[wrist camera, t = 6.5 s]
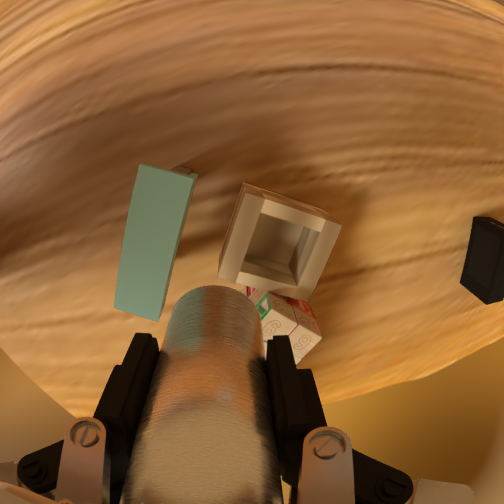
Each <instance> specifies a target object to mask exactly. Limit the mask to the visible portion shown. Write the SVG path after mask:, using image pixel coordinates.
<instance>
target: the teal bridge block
mask: <svg viewBox="0 0 504 504" xmlns="http://www.w3.org/2000/svg"><path fill="white" fill-rule="evenodd" d="M197 177H198V174H196V173H192V169H189V168H185V167H181V166H177V167H175V168H173V169H171V170H168V169H165V168H161V167H157V166H153V165H150V164H146V163H142V164H139V168H138V172H137V176H136V180H135V184H134V188H133V193H132V197H131V202H130V207H129V212H128V216H127V222H126V227H125V232H124V238H123V244H122V250H121V256H120V263H119V269H118V277H117V284H116V293H115V302H114V308H116V309H119V310H122V311H125V312H128V313H131V314H134V315H137V316H140V317H144V318H147V319H150V320H154V321H157V322H158V321H159V318H160V316H161V313H162V310H163V307H164V304H165V300H166V295H167V291H168V287H169V282H170V278H171V274H172V270H173V265H174V261H175V257H176V253H177V249H178V245H179V242H180V238H181V234H182V230H183V226H184V223H185V219H186V215H187V212H188V208H189V205H190V201H191V198H192V194H193V191H194V187H195V184H196V181H197Z"/></svg>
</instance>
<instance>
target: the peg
mask: <svg viewBox="0 0 504 504" xmlns="http://www.w3.org/2000/svg"><path fill="white" fill-rule="evenodd" d="M120 504H284V502H283V494H282V485H281V477H280V469H279V460H278V452H277V446H276V438H275V430H274V421H273V413H272V405H271V397H270V389H269V381H268V373H267V365H266V356H265V347H264V339H263V331H262V323H261V317H260V314H259V311H258V309H257V307H256V306H255V304H254V303H253V302H252V301H251V300H250V299H249V298H248V297H247V296H245V295H244V294H242V293H241V292H239V291H237V290H234V289H232V288H229V287H224V286H215V285H212V286H203V287H199V288H196V289H194V290H191V291H189V292H188V293H186V294H185V295H184V296H182V297H181V298H180V299H179V301H178V302H177V303H176V305H175V307H174V309H173V312H172V315H171V318H170V321H169V324H168V327H167V330H166V333H165V336H164V339H163V343H162V346H161V349H160V352H159V355H158V359H157V362H156V365H155V368H154V372H153V375H152V378H151V382H150V385H149V389H148V392H147V396H146V399H145V403H144V406H143V410H142V414H141V417H140V421H139V425H138V428H137V432H136V436H135V440H134V444H133V448H132V452H131V456H130V460H129V464H128V468H127V473H126V477H125V481H124V486H123V490H122V495H121V500H120Z"/></svg>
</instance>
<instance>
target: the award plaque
mask: <svg viewBox="0 0 504 504" xmlns="http://www.w3.org/2000/svg"><path fill="white" fill-rule="evenodd" d="M494 1H496V2H498V3H500V4H501V5H503V6H504V0H494Z"/></svg>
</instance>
